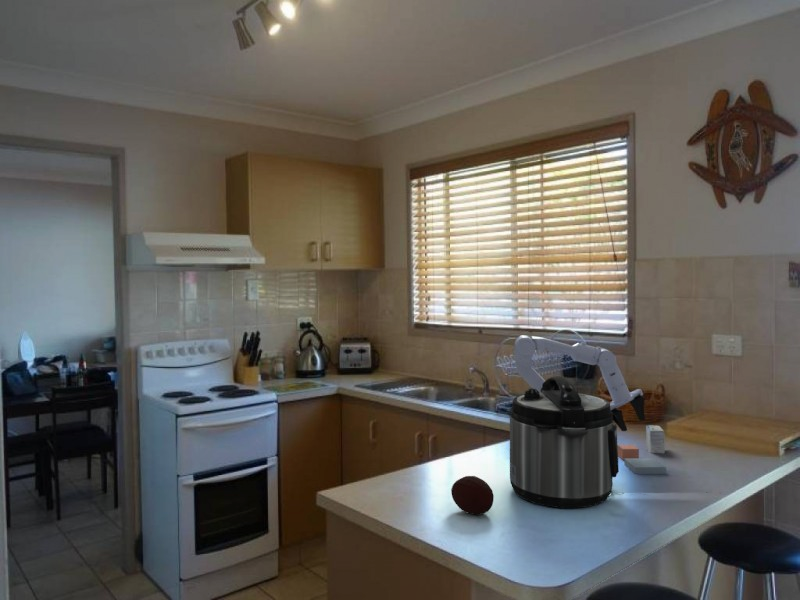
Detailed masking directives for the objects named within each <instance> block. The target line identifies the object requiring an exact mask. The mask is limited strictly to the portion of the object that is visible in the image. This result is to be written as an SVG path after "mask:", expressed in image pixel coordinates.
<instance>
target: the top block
mask: <svg viewBox="0 0 800 600" xmlns="http://www.w3.org/2000/svg"><path fill="white" fill-rule="evenodd" d="M623 462H624V466H625V467H626V468H628V470H630V471H631V472H632V473H633V474H634V475H643V474H644V475H647V474H648V475H659V474H660V475H661V474H662V475H666V474H667V466H666V465H664V464H663V463H662V462H661V461H659V460H658V459H656V458H655V457H652V458H651V457H650V458H649V457H648V458H647V457H646V458H644V457H643V458H640V457H639V458H629V459H624V460H623Z"/></svg>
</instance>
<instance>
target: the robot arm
mask: <svg viewBox="0 0 800 600" xmlns="http://www.w3.org/2000/svg"><path fill="white" fill-rule="evenodd" d="M544 351H549V352H554V353H558V354H561V355H567V356H570V358H571V359H572V360H573V361H574V362H579V363H583V364H587V365H591V366H595V365H597V366H598V367H599V370H600V372H601V375H602V376H601V377H602V378H603V381H604V383H605V386H606V388H607V391H608V392H609V395H610V397H611V399H612V401H609V403H610V411H612V413H613V422H614V423H615V424H616V426H617V427H619V430H621V431H622V432H627V431H628V429H627V428H628V427H627V425H626V423H625V420H624V417H623V411H622V410H620V409H619V408H620V407H622V406H624V405H626V404H628V403H629V404H630V405H631V407H632V408H633V410H634V412H635V415H636V416H637V418H638V420H639V421H640V422H645V421H646V416H645V401H646V400H645V397H644V396H643V395H644V393H643V391H642V389H641V388H636V389H635V390H633V391H630V390H629V388H628V385H627V383H626V380H625V378H624V376H623V374H622V371H621V369H620V368H619V365H618V363H617V356H616V355H615V353H613V352H612V351H610V350H609V349H607V348H604V347H601V346H598V345H597V346H592V345H588V344H587V342H584V341H581V342H577V343H575V344H573V345H572V344H571V345H570V344H568V343H563V342H560V341H557V340H553V339H549V338H545V337H542V336H541V337H540V336H536V335H535V336H533V335H531V336H530V335H527V334H524V335H523V334H522V335H519V336H517V338H516V339H515V341H514V345H513V353H514V354H513V355H514V362H515V367H516V371H517V374H518V375H519V376H520V377H521V378H522V379H523V380H524V381H525V382H526V383H527V384H528V385H529V386H530V387H531V388H532V389H536V390H538V391H539V392H540V393H541V388H542V384H543V383H544V382H545V381H546V380H545V379H544V378H543V377H542V375H540V373H539V372H537V371H536V369H534V368H533V365H532V364H533V357H534V354H535V352H536V353H541V352H544Z"/></svg>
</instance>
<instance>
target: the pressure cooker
mask: <svg viewBox="0 0 800 600" xmlns="http://www.w3.org/2000/svg"><path fill="white" fill-rule="evenodd" d="M509 411H510V413H509V479H510V485H511V487H512V490H513V491H514V493H515V494H516V495H517V496H518V495H519V497H520V498H522V499H523V498H524V500H525V499H526V501H528V502H530V501H531V503H533V502H534V503H533V504H537V505H541V506H545V505H546V507H550V506H553V508H558V507H562V508H563V509H575V508H577V509H579V508H587V507H592V506H595V505H599V504H601V503H604V502H605V501H606V500H607V499H608V498H609V496H610V495H611V493H612V489H613V478H616V477H617V476H618V473H619V472H620V470H619V469H620V468H619V457H618V447H617V445H618V430H617V427H618V425H617V424H616V423H615V422H614V421H613V413H612V411H610V401H608V400H606V399H605V398H602V397H599V396H594V395H589V394H584V393H578V391H577V390H576V389H575V387H574V385H573V384H572V383H571V381H570V380H568V378H566V377H564V376H561V375H560V376H559V375H557V376H552V377H549V378H547V379H546V380H545V382H544V383H543V384H542V388H541V393H540V392H539V391H538V390H536V389H533V388H532V387H531V388H528V389H526V390H525V391H524V394H521V395H517V396H516V397H514V398H513V399H512V406H511V407H510V410H509ZM562 508H561V509H562Z"/></svg>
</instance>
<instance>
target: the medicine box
mask: <svg viewBox="0 0 800 600" xmlns="http://www.w3.org/2000/svg"><path fill="white" fill-rule="evenodd" d="M645 446H646V447H645V449H646V452H650V454H665V449H666V447H665V430H664V429H663V428H662V427H661V426H660V425H652V424H651V425H650V424H649V425H646V426H645Z"/></svg>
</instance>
